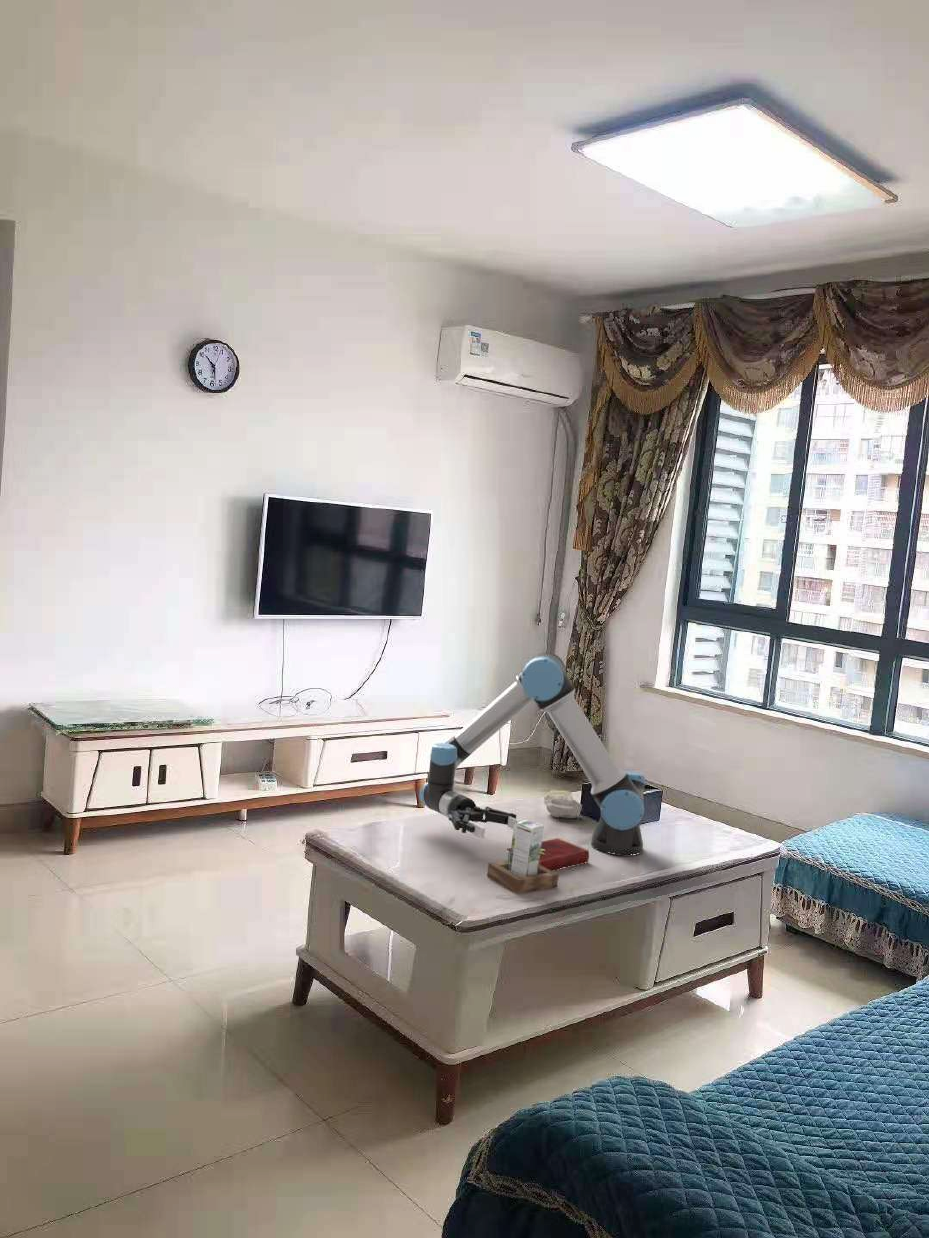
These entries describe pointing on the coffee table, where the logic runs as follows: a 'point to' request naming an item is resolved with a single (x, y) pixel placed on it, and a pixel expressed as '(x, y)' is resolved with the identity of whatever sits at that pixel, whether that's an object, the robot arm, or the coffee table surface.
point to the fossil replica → (562, 804)
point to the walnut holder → (522, 878)
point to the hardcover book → (560, 854)
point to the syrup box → (526, 848)
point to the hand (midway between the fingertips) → (503, 830)
